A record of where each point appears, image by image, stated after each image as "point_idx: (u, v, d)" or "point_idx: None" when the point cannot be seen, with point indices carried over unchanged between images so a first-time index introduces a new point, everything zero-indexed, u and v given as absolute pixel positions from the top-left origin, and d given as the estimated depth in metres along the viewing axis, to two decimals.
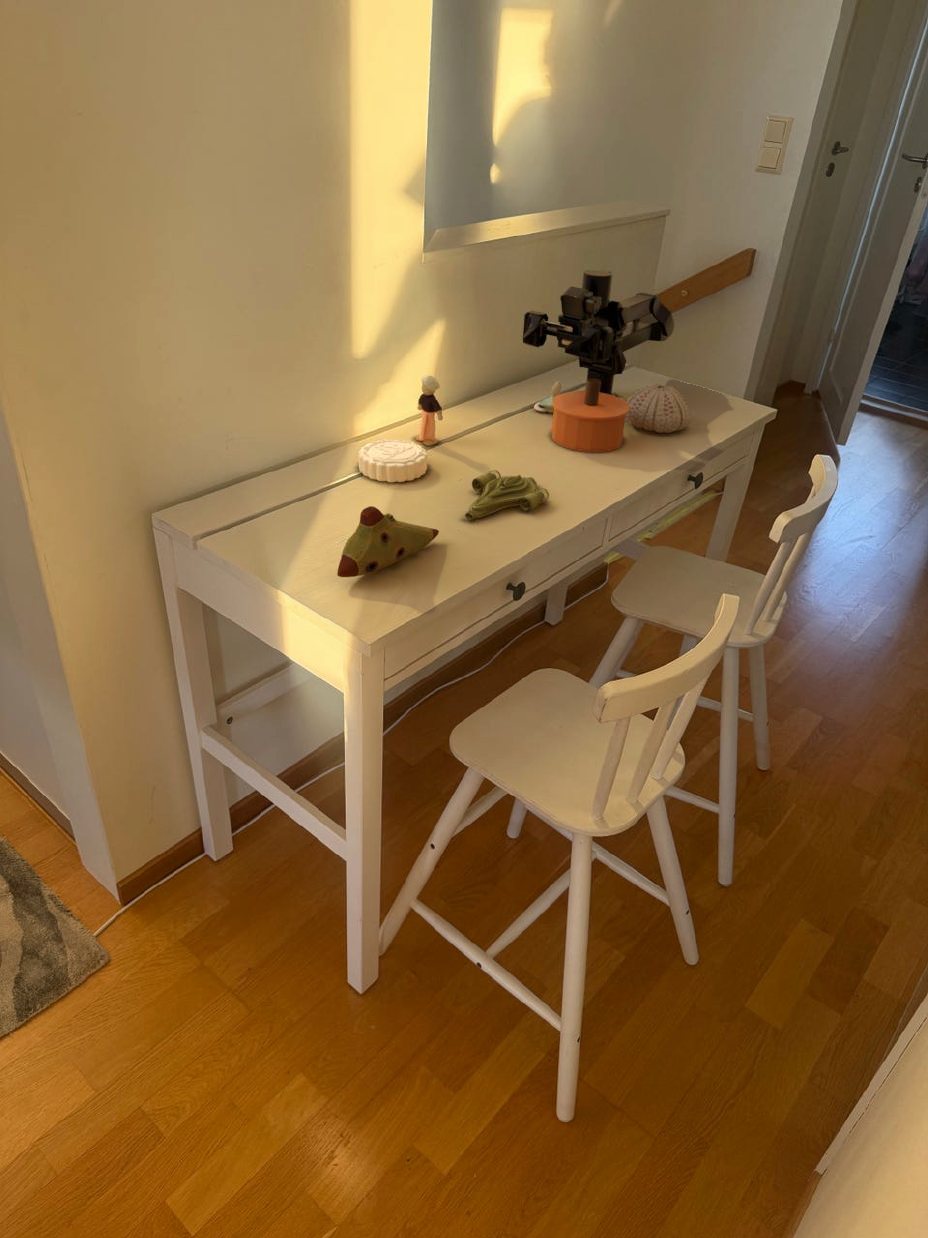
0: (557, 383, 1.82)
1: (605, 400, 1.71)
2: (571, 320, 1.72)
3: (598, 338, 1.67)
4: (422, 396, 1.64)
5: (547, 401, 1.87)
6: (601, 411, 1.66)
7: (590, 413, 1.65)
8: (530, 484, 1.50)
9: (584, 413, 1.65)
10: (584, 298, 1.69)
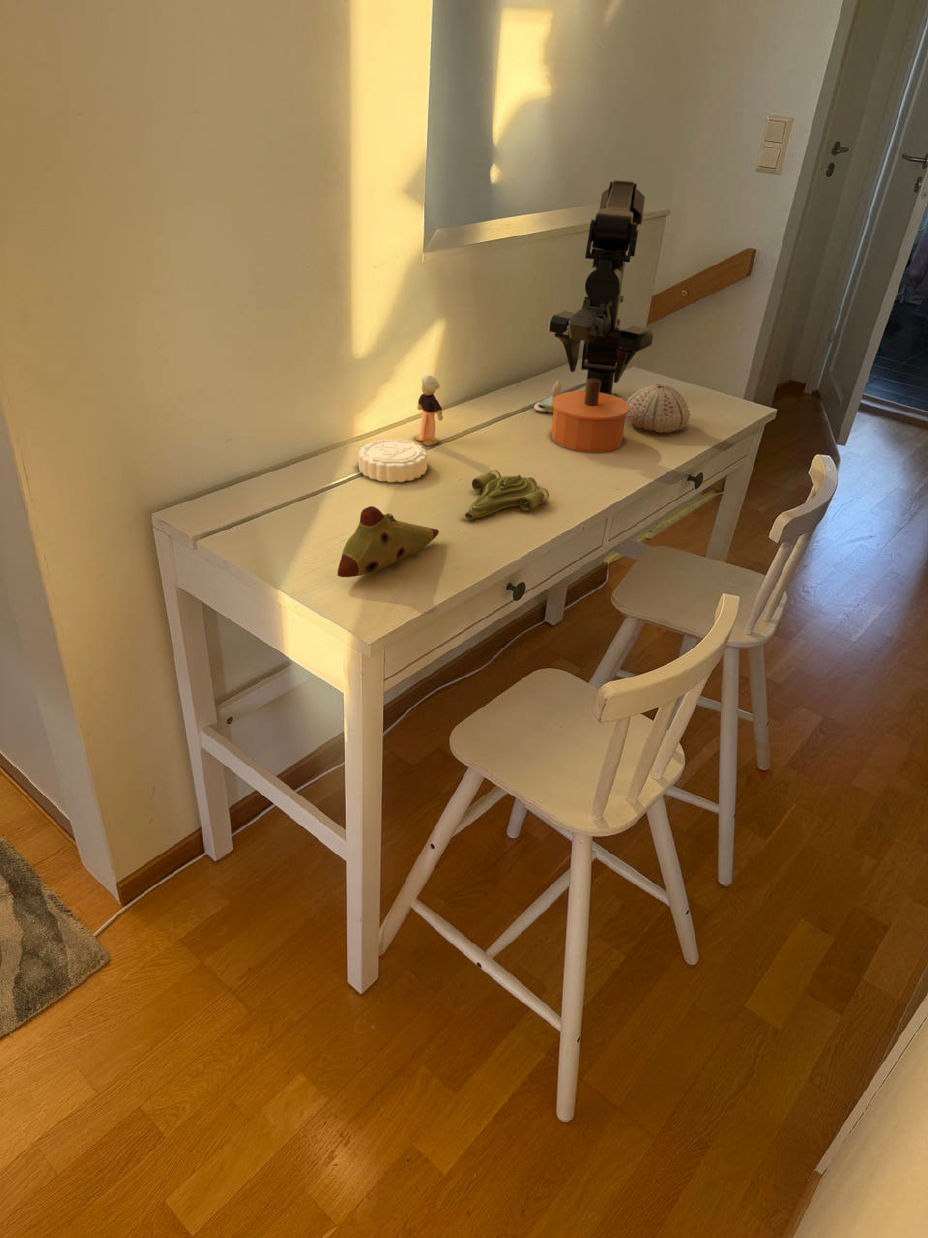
0: (557, 383, 1.82)
1: (605, 400, 1.71)
2: None
3: None
4: (422, 396, 1.64)
5: (547, 401, 1.87)
6: (601, 411, 1.66)
7: (590, 413, 1.65)
8: (530, 484, 1.50)
9: (584, 413, 1.65)
10: (592, 335, 1.55)
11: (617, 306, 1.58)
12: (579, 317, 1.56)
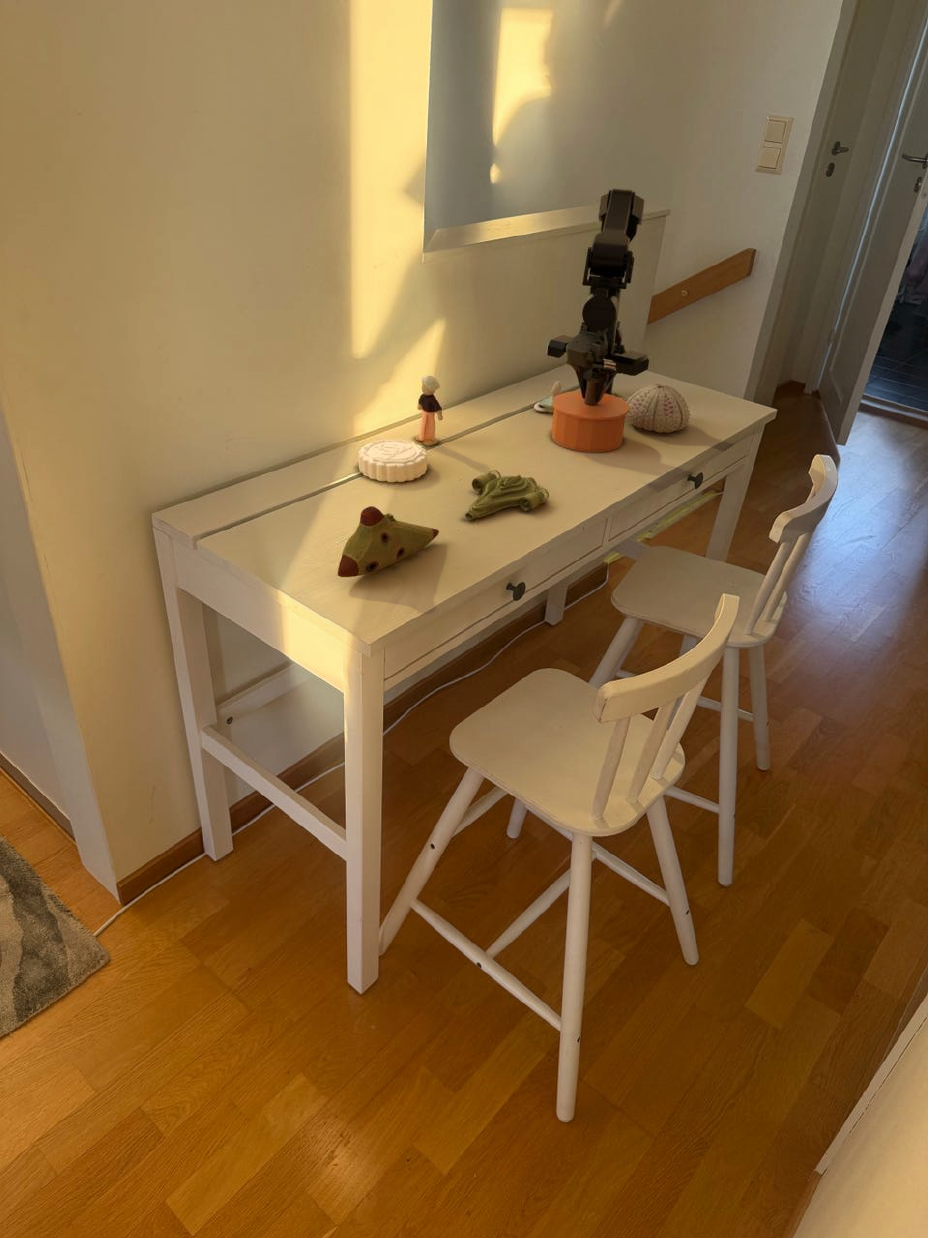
0: (557, 383, 1.82)
1: (605, 400, 1.71)
2: None
3: None
4: (422, 396, 1.64)
5: (547, 401, 1.87)
6: (601, 411, 1.66)
7: (590, 413, 1.65)
8: (530, 484, 1.50)
9: (584, 413, 1.65)
10: (589, 361, 1.58)
11: (614, 331, 1.60)
12: (576, 342, 1.59)
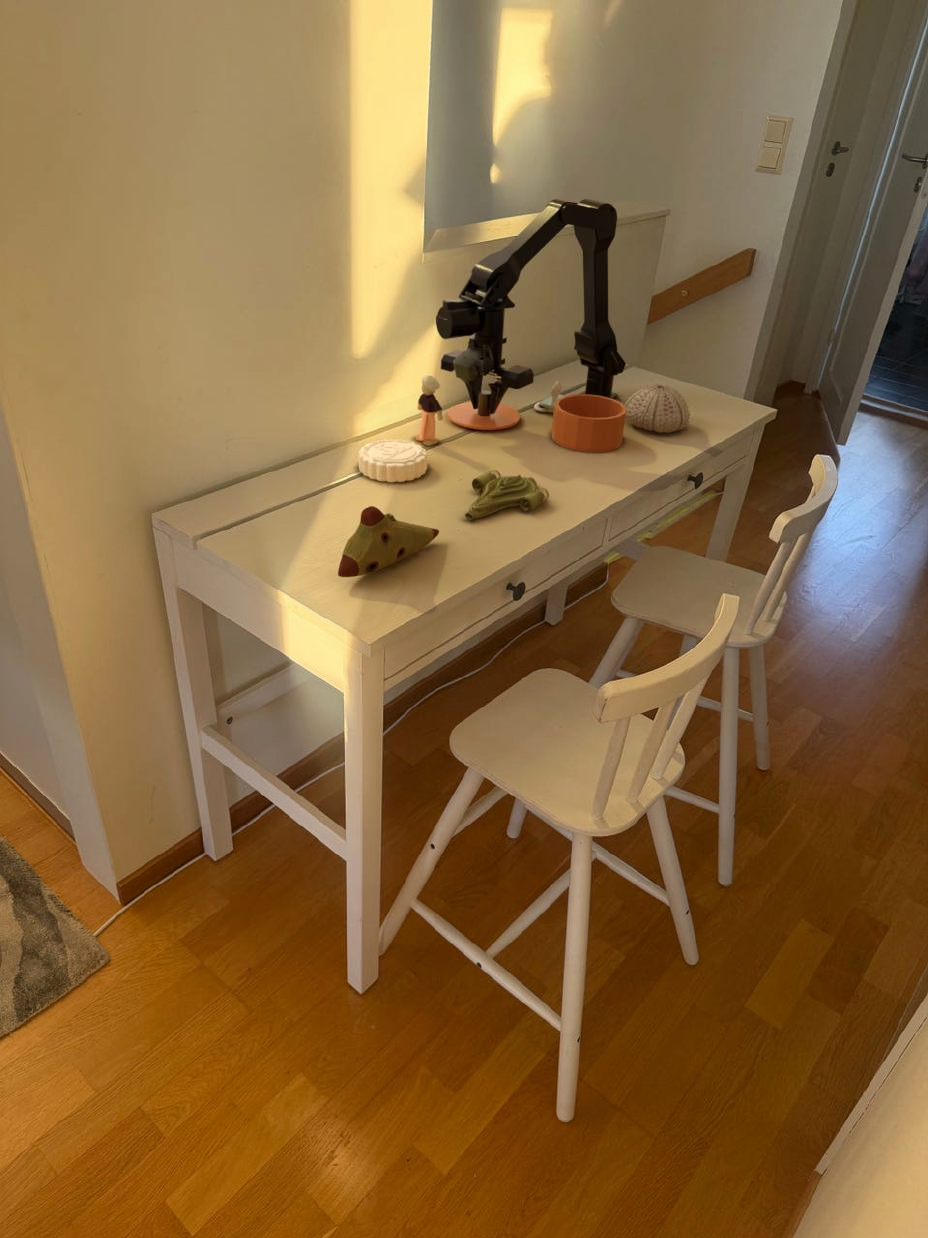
0: (557, 383, 1.82)
1: (498, 410, 1.81)
2: None
3: None
4: (422, 396, 1.64)
5: (547, 401, 1.87)
6: (492, 421, 1.76)
7: (480, 423, 1.75)
8: (530, 484, 1.50)
9: (474, 423, 1.74)
10: (475, 375, 1.67)
11: (500, 347, 1.70)
12: (463, 358, 1.68)
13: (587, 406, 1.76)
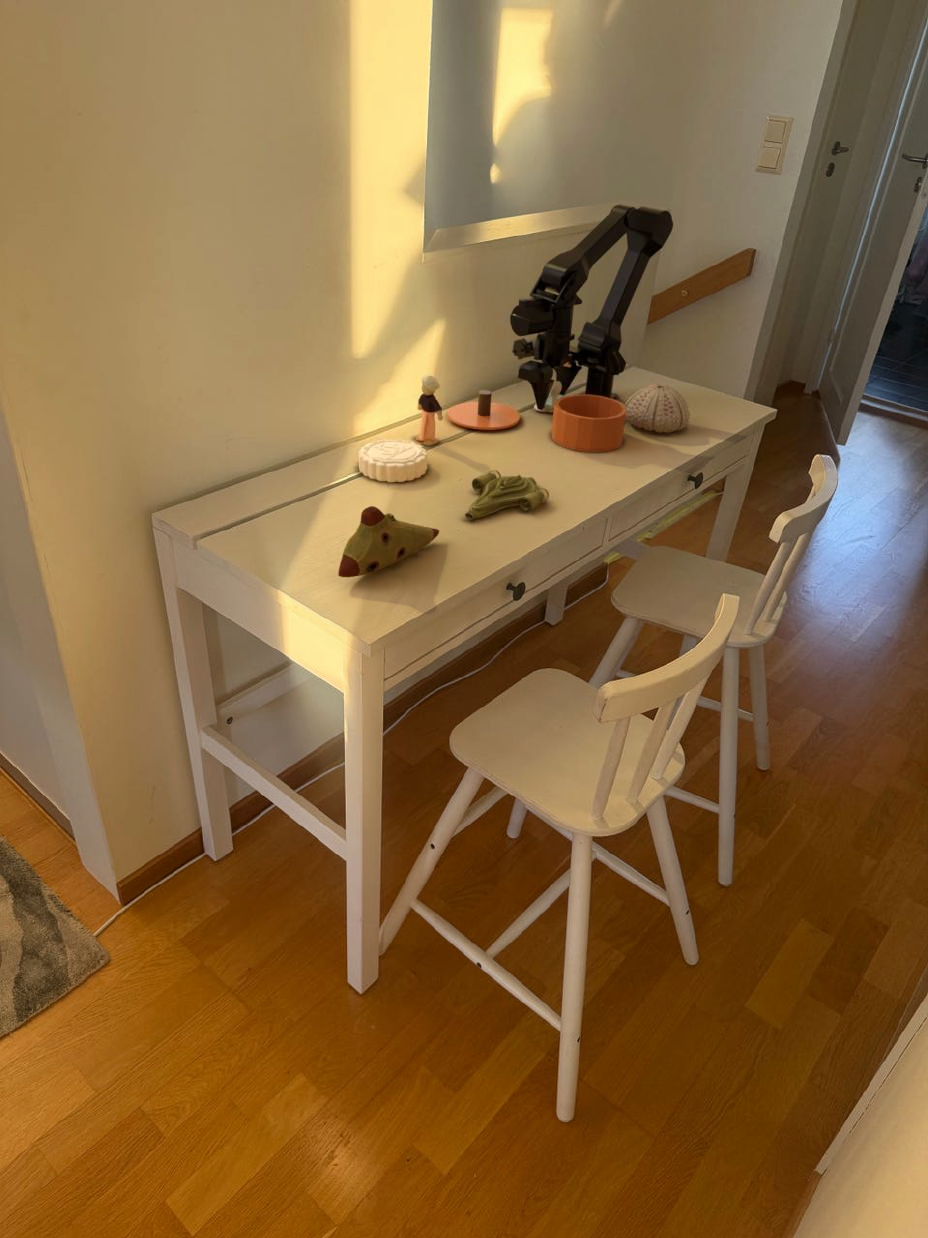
0: (557, 383, 1.82)
1: (498, 410, 1.81)
2: None
3: None
4: (422, 396, 1.64)
5: (547, 401, 1.87)
6: (492, 421, 1.76)
7: (480, 423, 1.75)
8: (530, 484, 1.50)
9: (474, 423, 1.74)
10: None
11: (548, 343, 1.76)
12: (530, 339, 1.83)
13: (587, 406, 1.76)
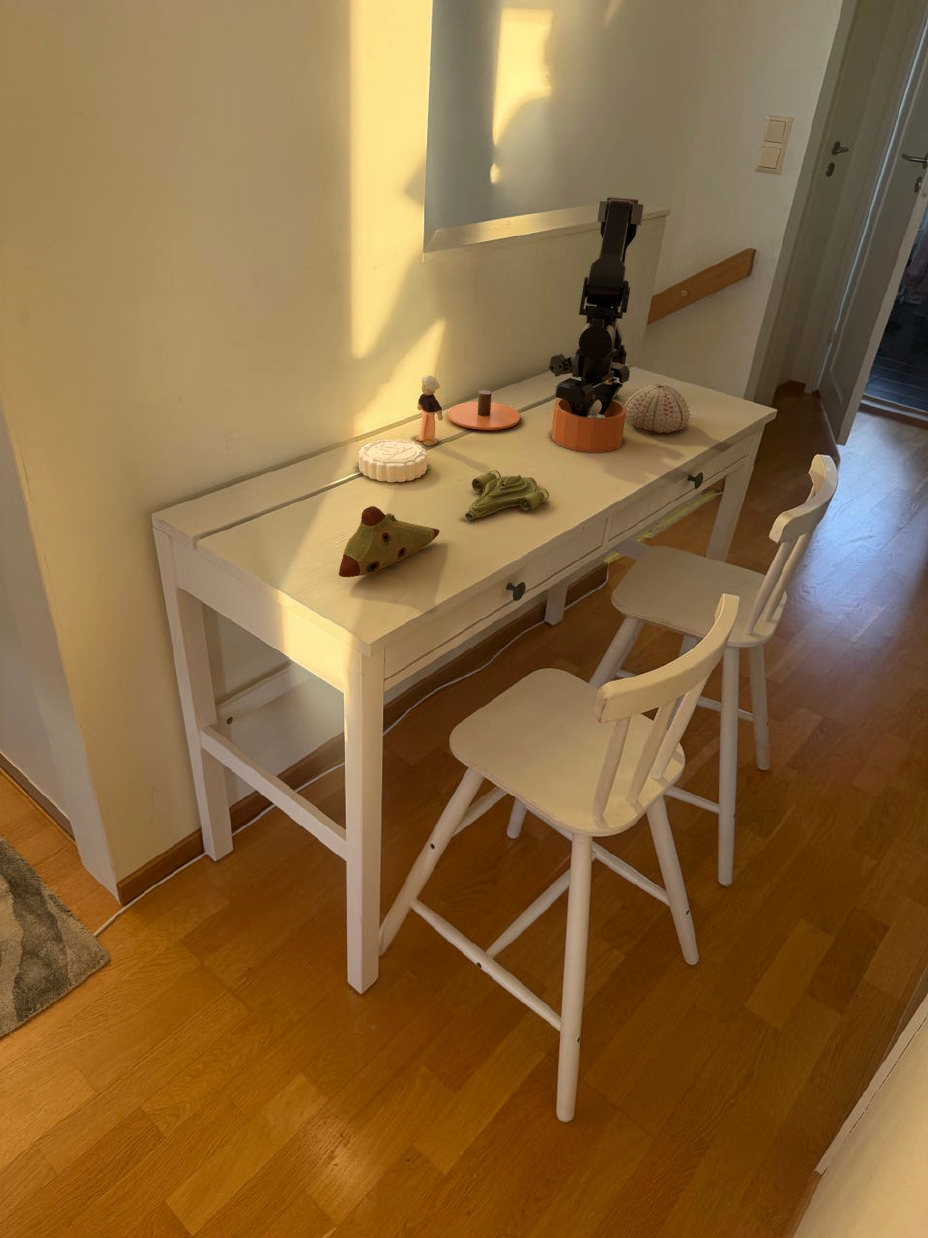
0: (597, 402, 1.68)
1: (498, 410, 1.81)
2: None
3: None
4: (422, 396, 1.64)
5: None
6: (492, 421, 1.76)
7: (480, 423, 1.75)
8: (530, 484, 1.50)
9: (474, 423, 1.74)
10: None
11: (589, 359, 1.63)
12: (568, 355, 1.69)
13: None
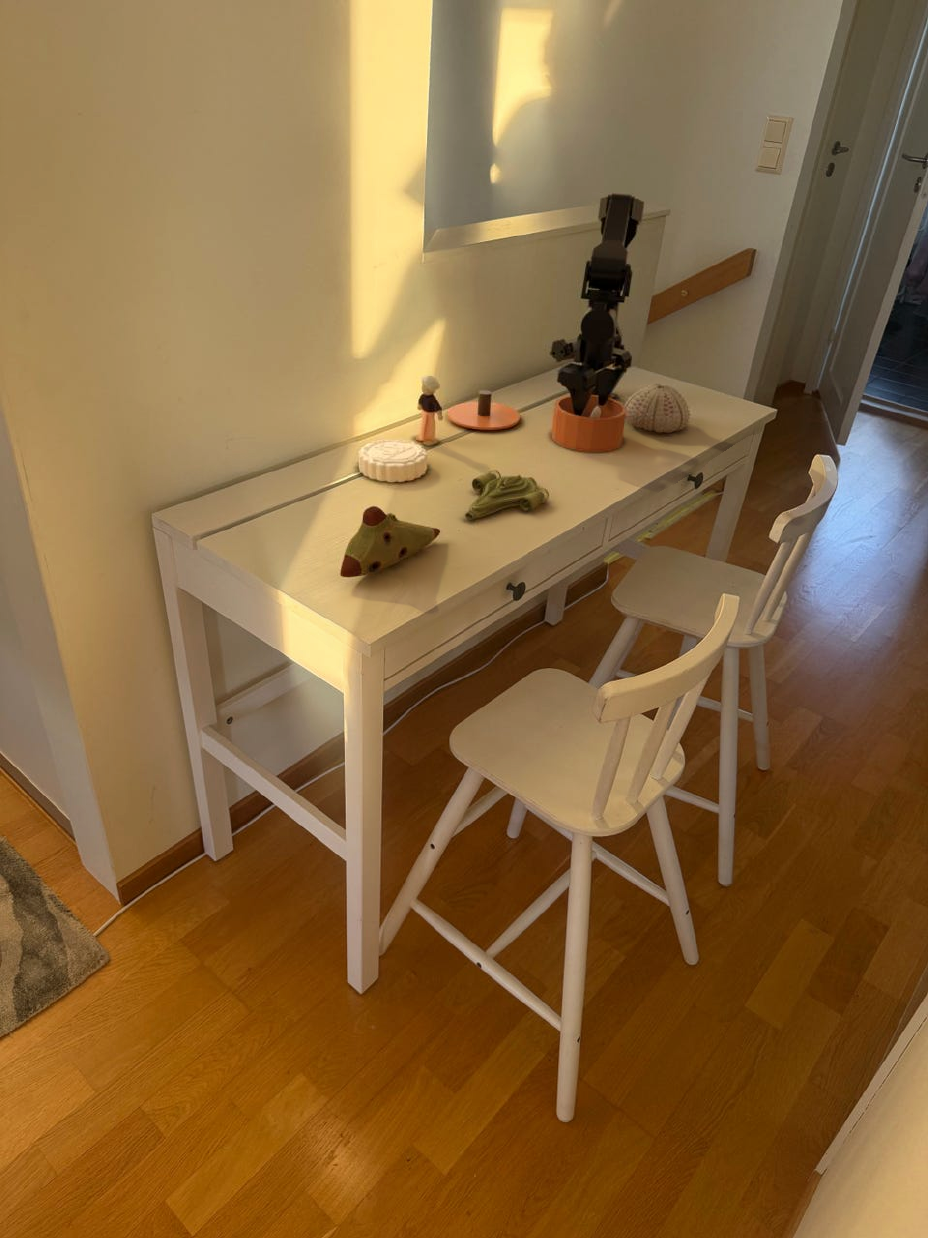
0: (596, 408, 1.69)
1: (498, 410, 1.81)
2: None
3: None
4: (422, 396, 1.64)
5: None
6: (492, 421, 1.76)
7: (480, 423, 1.75)
8: (530, 484, 1.50)
9: (474, 423, 1.74)
10: None
11: (591, 344, 1.61)
12: (569, 340, 1.68)
13: (587, 406, 1.76)
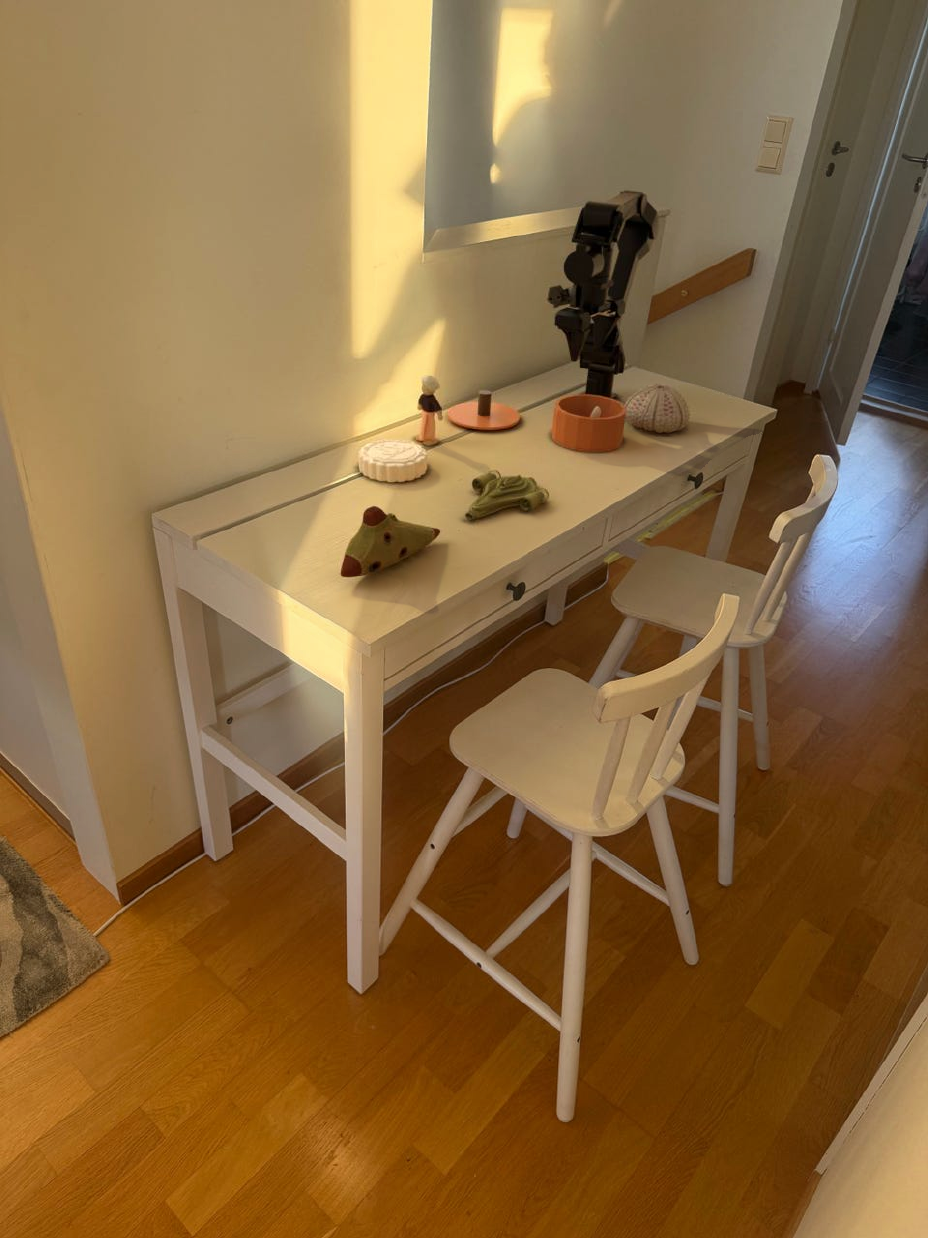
0: (596, 408, 1.69)
1: (498, 410, 1.81)
2: None
3: (562, 329, 1.70)
4: (422, 396, 1.64)
5: None
6: (492, 421, 1.76)
7: (480, 423, 1.75)
8: (530, 484, 1.50)
9: (474, 423, 1.74)
10: None
11: (586, 289, 1.69)
12: (566, 287, 1.75)
13: (587, 406, 1.76)
